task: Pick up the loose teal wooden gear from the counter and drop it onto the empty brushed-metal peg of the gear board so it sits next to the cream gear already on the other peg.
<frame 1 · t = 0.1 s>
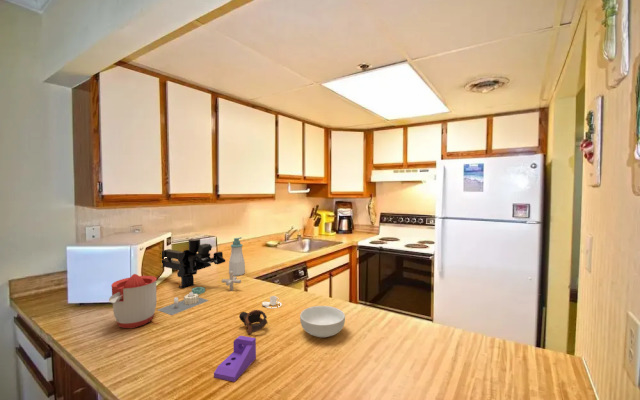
hand: (218, 262, 150), 17 cm above the worktop, tool horizontal, fingers open, 9 cm apart
cereal bowl: (322, 333, 111), on the worktop
citrus juicer: (134, 323, 119), on the worktop
pipe connector: (231, 290, 157), on the worktop
pottery mug: (253, 329, 114), on the worktop
gear board: (184, 307, 134), on the worktop
soap bottle: (237, 274, 187), on the worktop
teacup and saucer: (269, 304, 140), on the worktop
cream gear: (191, 302, 138), point 1 cm above the worktop, touching gear board
bracket: (236, 368, 89), on the worktop
teal gear: (198, 294, 151), on the worktop
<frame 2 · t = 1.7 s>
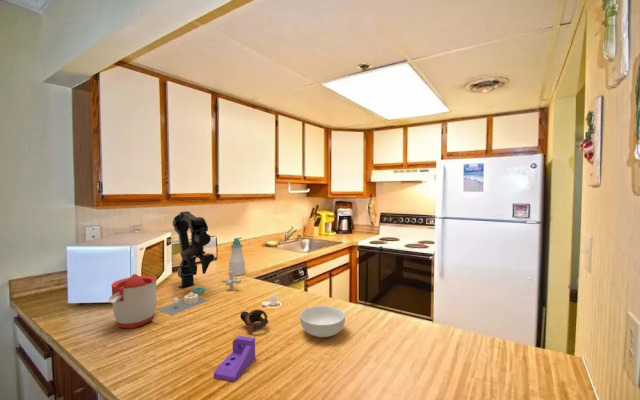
hand: (198, 272, 150), 11 cm above the worktop, tool pointing down, fingers open, 9 cm apart
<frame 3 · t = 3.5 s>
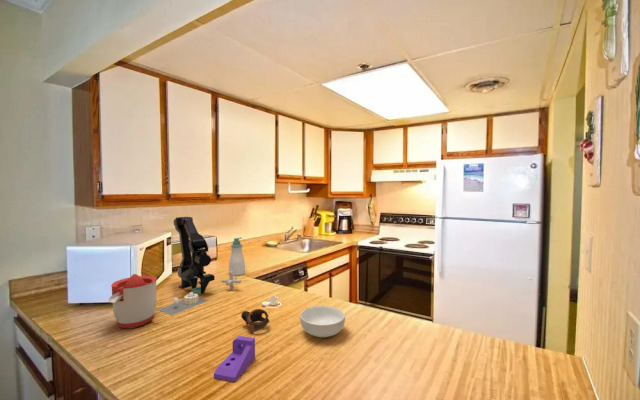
hand: (198, 292, 151), 1 cm above the worktop, tool pointing down, fingers closed on teal gear, 6 cm apart
teal gear: (198, 294, 151), on the worktop, touching gripper
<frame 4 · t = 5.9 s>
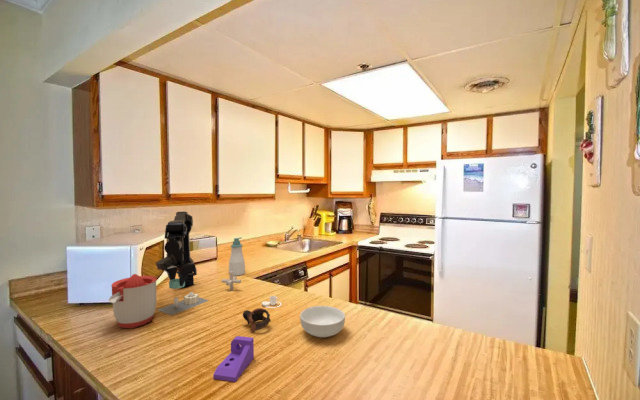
hand: (177, 284, 131), 12 cm above the worktop, tool pointing down, fingers closed on teal gear, 6 cm apart
teal gear: (177, 286, 131), point 11 cm above the worktop, touching gripper
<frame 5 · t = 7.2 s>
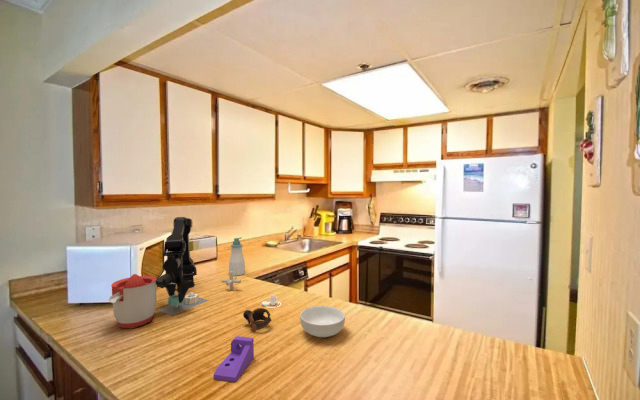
hand: (176, 301, 131), 4 cm above the worktop, tool pointing down, fingers closed on teal gear, 6 cm apart
teal gear: (176, 303, 131), point 3 cm above the worktop, touching gripper
when the fingers open (3 cm above the worktop, at t = 8.4 s): teal gear stays where it is, resting on gear board.
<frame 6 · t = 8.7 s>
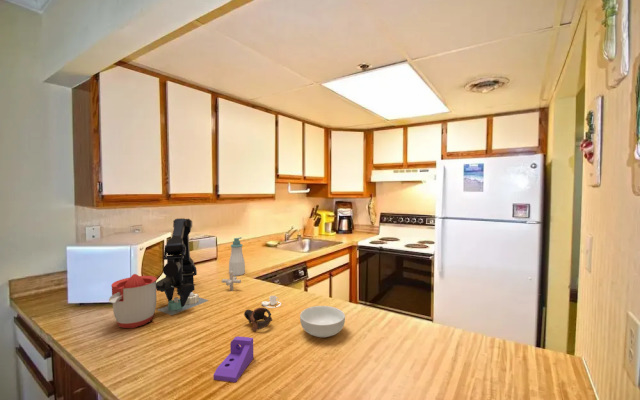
hand: (176, 304, 131), 3 cm above the worktop, tool pointing down, fingers open, 9 cm apart
teal gear: (176, 307, 131), point 1 cm above the worktop, touching gear board
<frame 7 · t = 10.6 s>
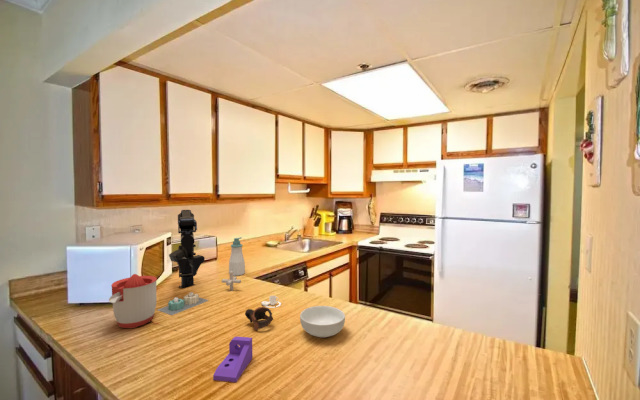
hand: (187, 274, 144), 12 cm above the worktop, tool pointing down, fingers open, 9 cm apart
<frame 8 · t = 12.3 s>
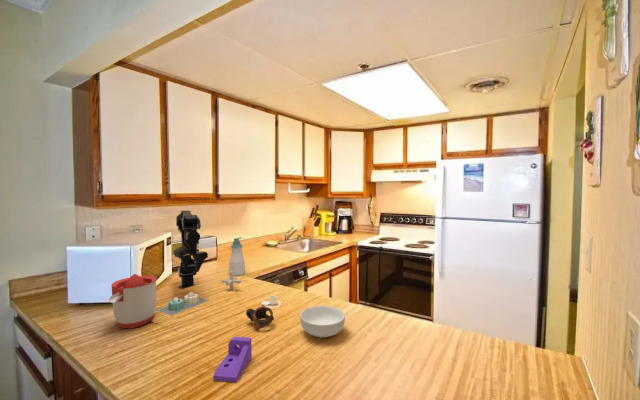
hand: (191, 270, 148), 13 cm above the worktop, tool pointing down, fingers open, 9 cm apart
at the end: teal gear 0.1 cm from the target spot on the gear board, point 1.2 cm above the gear board's base; the gripper is holding nothing; teal gear tilted 0° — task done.
